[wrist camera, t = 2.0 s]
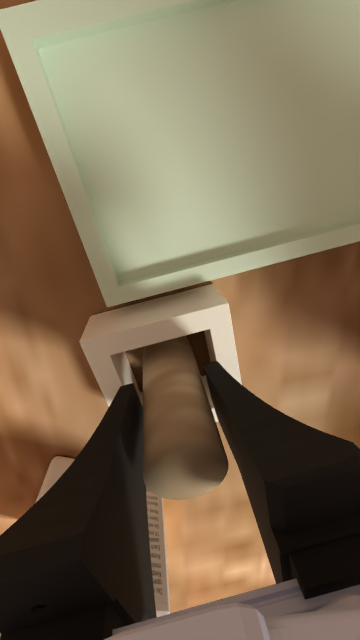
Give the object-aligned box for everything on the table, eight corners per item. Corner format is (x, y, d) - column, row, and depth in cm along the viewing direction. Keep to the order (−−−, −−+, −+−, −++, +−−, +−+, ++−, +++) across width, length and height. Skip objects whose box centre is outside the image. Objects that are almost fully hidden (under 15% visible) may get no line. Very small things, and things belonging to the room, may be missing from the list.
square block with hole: (213, 283, 14) (228, 302, 12) (231, 381, 17) (246, 413, 14) (90, 315, 14) (79, 342, 12) (129, 408, 17) (126, 446, 14)
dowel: (185, 324, 15) (221, 431, 8) (195, 364, 16) (233, 486, 9) (136, 337, 15) (131, 455, 8) (150, 376, 16) (156, 508, 9)
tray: (398, -59, 10) (436, -98, 8) (373, 228, 14) (396, 231, 13) (13, 35, 9) (-7, 11, 8) (110, 297, 14) (107, 307, 12)
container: (126, 533, 22) (108, 903, 11) (27, 522, 20) (-130, 968, 9) (162, 472, 20) (191, 871, 8) (54, 452, 18) (-119, 953, 6)
